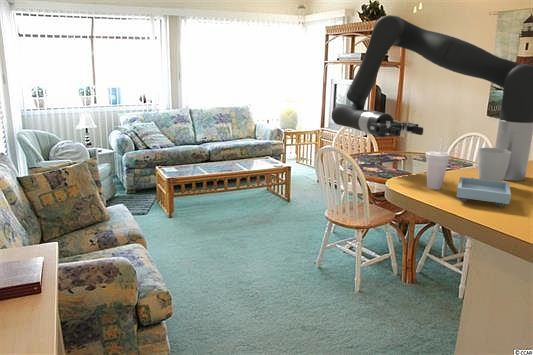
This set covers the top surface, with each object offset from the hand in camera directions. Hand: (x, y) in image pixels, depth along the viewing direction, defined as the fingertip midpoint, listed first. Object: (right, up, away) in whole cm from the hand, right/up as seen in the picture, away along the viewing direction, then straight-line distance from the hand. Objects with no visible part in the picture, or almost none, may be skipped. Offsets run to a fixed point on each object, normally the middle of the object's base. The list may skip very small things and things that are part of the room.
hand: (411, 132), depth 129 cm
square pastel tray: (+13, -19, -16) cm, 28 cm away
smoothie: (+5, -16, -6) cm, 18 cm away
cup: (+22, -15, -2) cm, 27 cm away
